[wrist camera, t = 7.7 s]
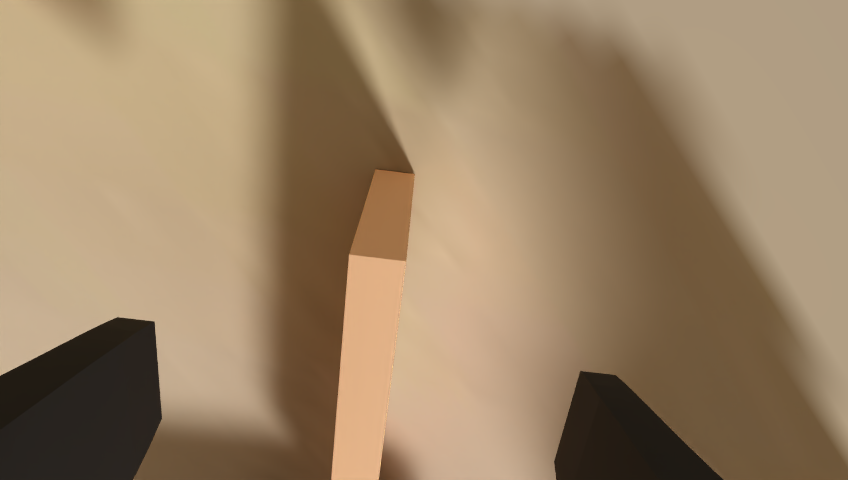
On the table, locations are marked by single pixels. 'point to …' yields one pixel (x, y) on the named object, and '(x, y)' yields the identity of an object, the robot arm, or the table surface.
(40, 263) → the table surface
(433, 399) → the table surface
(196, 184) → the table surface
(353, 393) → the long wooden plank
